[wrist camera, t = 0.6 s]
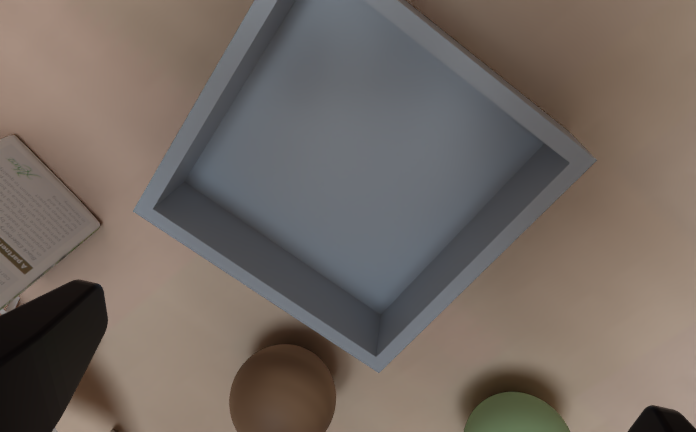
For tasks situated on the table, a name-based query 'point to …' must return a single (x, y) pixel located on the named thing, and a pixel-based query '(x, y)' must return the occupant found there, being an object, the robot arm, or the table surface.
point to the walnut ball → (282, 392)
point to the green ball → (514, 415)
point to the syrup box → (34, 219)
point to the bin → (357, 168)
